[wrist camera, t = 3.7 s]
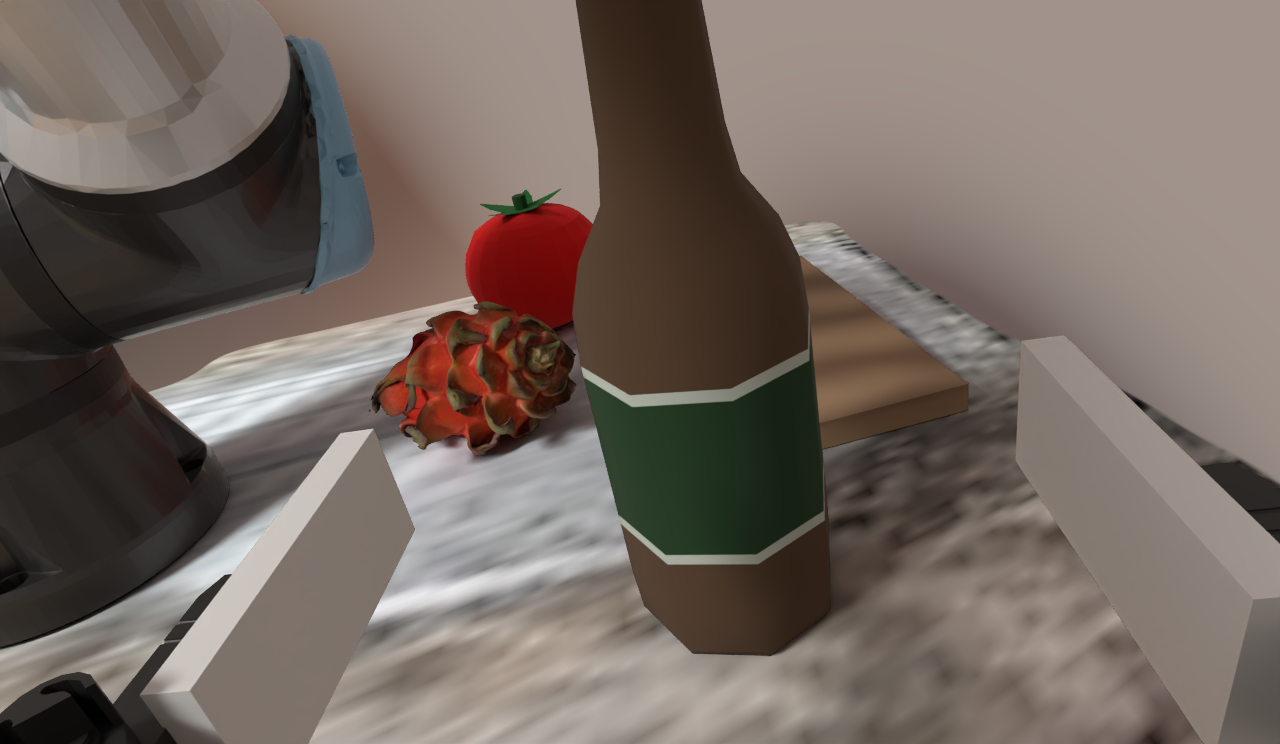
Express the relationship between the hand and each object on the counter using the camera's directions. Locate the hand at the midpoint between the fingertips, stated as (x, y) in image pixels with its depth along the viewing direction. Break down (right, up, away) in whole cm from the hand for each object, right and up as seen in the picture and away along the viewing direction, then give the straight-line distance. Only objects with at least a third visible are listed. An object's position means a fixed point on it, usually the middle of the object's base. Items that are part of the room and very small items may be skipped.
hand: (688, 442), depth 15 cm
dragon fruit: (-10, -2, +29) cm, 30 cm away
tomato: (-8, +5, +42) cm, 43 cm away
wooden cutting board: (+6, +2, +31) cm, 32 cm away
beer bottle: (+3, -7, +14) cm, 16 cm away
